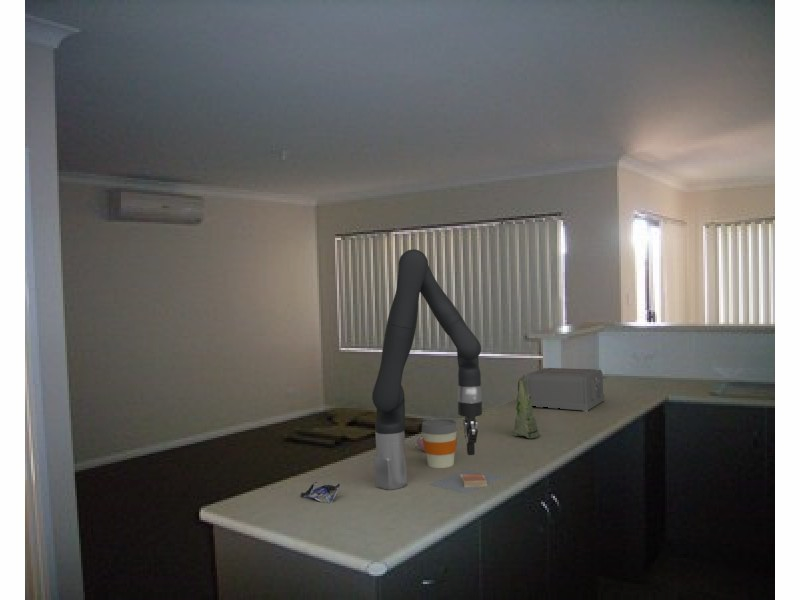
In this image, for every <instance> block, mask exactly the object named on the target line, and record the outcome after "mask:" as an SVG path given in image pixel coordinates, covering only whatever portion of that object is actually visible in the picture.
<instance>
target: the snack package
mask: <svg viewBox="0 0 800 600" xmlns="http://www.w3.org/2000/svg"><path fill="white" fill-rule="evenodd" d="M324 484H325V482H324ZM317 485H318V481H314V482H313V483H312V484H311V485H310V487H309V488H308V490H305V492H300V498H306V499H315V500H316V501H319V502H321V503H323V501H322V500H321V499H320V498H319V497H322V498H325V499H326V501H327V502H324V503H327V504H331V503H333V501H334V499H335V498H336V495H338V494H337V493H338V491H339V488H340V483H338V484H337V485H335V486H334V485H332V484H325V485H321V486H319V487H316V488H315V486H317Z"/></svg>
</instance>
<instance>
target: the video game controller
mask: <svg viewBox="0 0 800 600" xmlns="http://www.w3.org/2000/svg"><path fill="white" fill-rule="evenodd" d="M416 443H417V446H418V447H420V449H421V450H422V451H423V452H424V453H425V451H424V445H423V434H422V435H420V436H419V438H418V439H417V440H416Z"/></svg>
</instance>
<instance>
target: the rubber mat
mask: <svg viewBox="0 0 800 600" xmlns="http://www.w3.org/2000/svg"><path fill="white" fill-rule="evenodd" d="M473 473H482V474H483V475H484V477H485V479H486V480H487V486H488V485H490V484H492V483H494V482H496V481H498V480H501V479H502V478H504V476H502V475H499V474H498V475H497V474H492V473H487V472H481V471H478V470H473V469H472V470H471V469H468V468H467V469H463V470H460V471H458V472H456V473H453V474H451V475H449V476H446V477H444V478H441V479H438V480H437V481H434V482H432V483H429V484H428V485H429V486H431V487H437V488H440V489H445V490H449V491H454V492H457V493H462V494H466V495H467V494H470V493H472V492H475V491H478V490H479V489H481V488H483V487H484V486H479V487H464V485H463V483H462V481H461V475H460V474H473Z"/></svg>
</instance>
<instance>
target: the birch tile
mask: <svg viewBox="0 0 800 600" xmlns="http://www.w3.org/2000/svg"><path fill="white" fill-rule="evenodd" d="M460 475H461V481H462V483H463V485H464V487H479V486H483V487H488V485H487V480H486V479H485V477H484V475H483V474H482V473H473V474H460Z"/></svg>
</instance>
